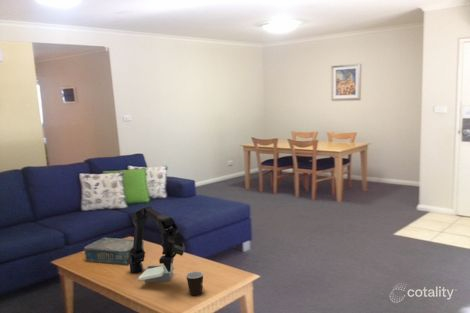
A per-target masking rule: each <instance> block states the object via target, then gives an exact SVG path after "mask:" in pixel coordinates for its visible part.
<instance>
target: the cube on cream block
mask: <svg viewBox="0 0 470 313" xmlns="http://www.w3.org/2000/svg"><path fill="white" fill-rule="evenodd" d="M173 264H174V263H173ZM173 264H172V263H171V270H170V272H172V271H173V272H174V270H175V267H174V265H173ZM159 266H160V265H159ZM143 271H144V272H143ZM143 271H142V272H141V274H140V275H139V276H138V277H137V281H145V279H150V278H156V277H161V276H162V275H163V274H164V273H170V272H168V271H167V269H166V267H165V266H164V264H163V266H160V267H155V268H150V269H146V268H145V269H144V270H143Z"/></svg>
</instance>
